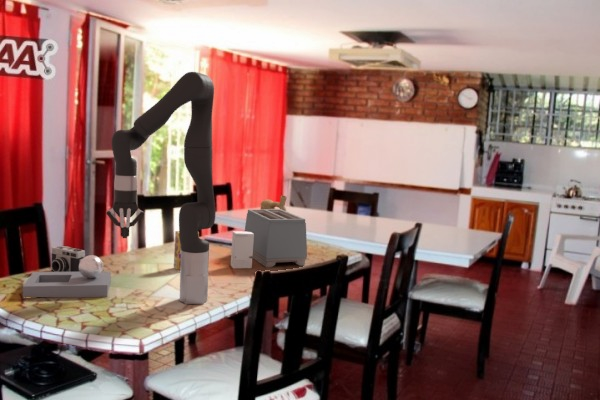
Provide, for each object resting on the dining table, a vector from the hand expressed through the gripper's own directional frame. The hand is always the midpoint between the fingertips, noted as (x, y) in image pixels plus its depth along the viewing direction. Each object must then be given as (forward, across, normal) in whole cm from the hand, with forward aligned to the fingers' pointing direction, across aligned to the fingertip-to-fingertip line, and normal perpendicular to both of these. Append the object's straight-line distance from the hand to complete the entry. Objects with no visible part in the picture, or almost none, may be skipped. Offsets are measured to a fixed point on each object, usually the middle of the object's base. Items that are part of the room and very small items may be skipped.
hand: (124, 237), depth 202 cm
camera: (+19, -22, +22) cm, 36 cm away
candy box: (+18, +23, +28) cm, 41 cm away
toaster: (+19, +62, +45) cm, 79 cm away
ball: (+10, -11, 0) cm, 15 cm away
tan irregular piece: (+19, +69, +78) cm, 106 cm away
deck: (+18, -18, 0) cm, 26 cm away
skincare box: (+18, +46, +29) cm, 57 cm away
